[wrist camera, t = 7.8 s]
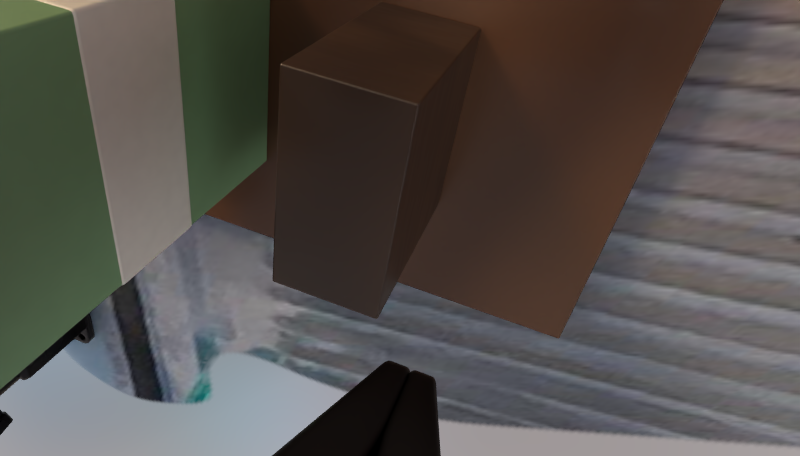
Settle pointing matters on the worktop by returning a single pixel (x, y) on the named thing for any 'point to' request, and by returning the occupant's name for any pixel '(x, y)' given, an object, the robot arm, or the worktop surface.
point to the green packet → (115, 145)
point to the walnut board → (459, 144)
